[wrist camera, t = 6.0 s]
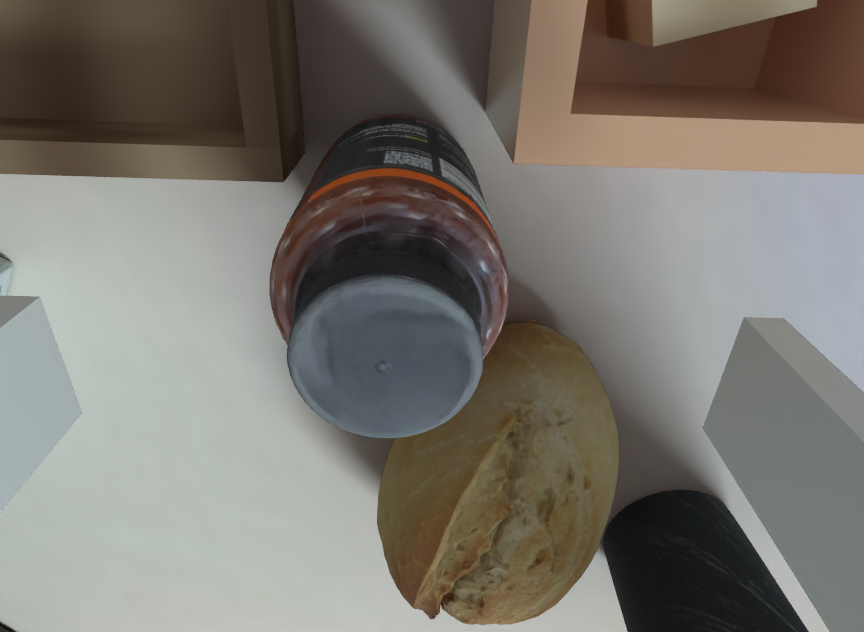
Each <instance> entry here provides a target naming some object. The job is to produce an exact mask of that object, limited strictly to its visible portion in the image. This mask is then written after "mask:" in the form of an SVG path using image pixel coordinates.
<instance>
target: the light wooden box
mask: <svg viewBox="0 0 864 632" xmlns="http://www.w3.org/2000/svg"><path fill="white" fill-rule="evenodd" d="M485 113H486V115H487V117H488V118H489V120H490V122H491V124H492V125H493V127H494V129H495V131H496V133H497V134H498V136H499V138H500V140H501V142H502V143H503V145H504V147H505V149H506V151H507V152H508V154H509V156H510V158H511V160H512V161H513V163H514V164H543V165H575V166H607V167H639V168H671V169H703V170H735V171H767V172H799V173H831V174H863V175H864V0H817V7H813V8H809V9H805V10H801V11H797V12H793V13H789V14H785V15H781V16H777V17H772V18H768V19H764V20H760V21H756V22H752V23H748V24H744V25H740V26H736V27H732V28H728V29H724V30H720V31H716V32H712V33H708V34H704V35H699V36H695V37H691V38H687V39H683V40H679V41H675V42H671V43H667V44H663V45H659V46H655V47H651V46H647V45H642V44H638V43H633V42H629V41H624V40H620V39H615V38H611V37H607V25H606V9H605V0H494V10H493V23H492V35H491V48H490V60H489V72H488V85H487V97H486V110H485Z"/></svg>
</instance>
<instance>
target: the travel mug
mask: <svg viewBox="0 0 864 632" xmlns="http://www.w3.org/2000/svg"><path fill="white" fill-rule="evenodd" d="M604 550H605V554H606V558H607V562H608V566H609V569H610V573H611V576H612V580H613V583H614V587H615V590H616V594H617V597H618V600H619V604H620V607H621V611H622V614H623V617H624V621H625V624H626V628H627V631H628V632H808V630H807V628H806V627H805V625H804V624H803V622H802V621H801V619H800V618H799V616H798V615H797V613H796V611H795V610H794V608H793V607H792V605H791V604H790V602H789V601H788V599H787V598H786V596H785V595H784V593H783V591H782V590H781V588H780V587H779V585H778V584H777V582H776V581H775V579H774V578H773V576H772V575H771V573H770V571H769V570H768V568H767V567H766V565H765V564H764V562H763V561H762V559H761V558H760V556H759V554H758V553H757V551H756V550H755V548H754V547H753V545H752V544H751V542H750V541H749V539H748V538H747V536H746V534H745V533H744V531H743V530H742V528H741V527H740V525H739V524H738V522H737V521H736V519H735V518H734V517H733V515H732V514H731V512H730V511H729V510H728V509H727V507H726V506H725V505H724V504H723V503H721V502H720V501H719V500H717V499H716V498H714V497H712V496H710V495H707V494H704V493H700V492H695V491H683V490H682V491H669V492H663V493H659V494H655V495H652V496H648V497H646V498H643V499H641V500H639V501H637V502H635V503H633V504H631V505H630V506H628V507H627V508H625V509H624V510H623V511H621V512H620V513H619V514H618V515H617V516H616V517H615V518H614V519H613V521H612V522H611V523H610V525H609V526H608V528H607V530H606V533H605V537H604Z"/></svg>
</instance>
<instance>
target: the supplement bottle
mask: <svg viewBox="0 0 864 632" xmlns="http://www.w3.org/2000/svg"><path fill="white" fill-rule="evenodd" d="M508 294H509V284H508V272H507V267H506V262H505V259H504V255H503V253H502V250H501V247H500V243H499V240H498V237H497V235H496V232H495V229H494V226H493V224H492V221H491V218H490V215H489V212H488V209H487V206H486V203H485V200H484V197H483V194H482V192H481V189H480V185H479V183H478V180H477V176H476V174H475V171H474V169H473V167H472V165H471V163H470V161H469V159H468V157H467V155H466V153H465V152H464V150H463V149H462V148H461V147H460V145H459V144H458V143H457V142H456V141H455V140H454V139H453V138H452V137H451V136H450V135H449V134H448V133H447V132H445V131H444V130H442V129H441V128H440V127H439V126H437V125H435V124H432V123H430V122H428V121H426V120H423V119H420V118H417V117H412V116H407V115H383V116H379V117H375V118H371V119H367V120H365V121H363V122H361V123H359V124H357V125H355V126H354V127H352V128H351V129H349V130H348V131H346V132H345V133H344V134H343V135H342V136H341V137H340V138H339V139H338V140H337V141H336V142H335V143H334V145H333V146H332V147H331V148H330V150H329V151H328V153H327V154H326V156H325V157H324V158H323V160H322V162H321V164H320V165H319V167H318V169H317V171H316V173H315V175H314V177H313V179H312V180H311V182H310V184H309V186H308V188H307V189H306V191H305V193H304V195H303V197H302V199H301V201H300V202H299V204H298V206H297V208H296V209H295V211H294V213H293V215H292V217H291V218H290V220H289V222H288V224H287V226H286V228H285V231H284V233H283V235H282V237H281V239H280V241H279V243H278V246H277V248H276V251H275V254H274V258H273V261H272V268H271V272H270V299H271V306H272V310H273V314H274V318H275V321H276V325H277V326H278V328H279V330H280V332H281V334H282V337H283V339H284V340H285V341H286V343H287V345H288V349H287V362H288V367H289V372H290V375H291V379H292V380H293V383H294V385H295V387H296V389H297V391H298V392H299V394H300V395H301V397H302V398H303V400H304V401H305V402H306V403H307V404H308V405H309V406H310V408H311V409H312V410H313V411H314V412H316V413H317V414H318V415H320V416H321V417H322V418H323V419H325V420H326V421H328V422H329V423H332V424H334V425H335V426H337V427H338V428H340V429H342V430H345V431H348V432H351V433H355V434H358V435H363V436H367V437H379V438H399V437H408V436H412V435H416V434H419V433H422V432H426V431H428V430H430V429H433V428H435V427H437V426H439V425H441V424H443V423H445V422H446V421H448V420H449V419H450V418H452V417H453V416H454V415H455V414H457V413H458V412H459V411H460V410H461V409H462V408H463V406H464V405H465V404H466V403H467V402H468V401H469V400H470V398H471V396H472V395H473V393H474V391H475V389H476V388H477V386H478V383H479V380H480V377H481V374H482V369H483V359H484V357H485V356H486V355H487V354H488V352H489V350H490V349H491V348H492V346H493V345H494V343H495V341H496V339H497V337H498V335H499V333H500V332H501V329H502V325H503V323H504V321H505V317H506V311H507V306H508V300H509V298H508Z"/></svg>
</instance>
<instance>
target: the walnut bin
mask: <svg viewBox="0 0 864 632" xmlns="http://www.w3.org/2000/svg"><path fill="white" fill-rule="evenodd" d="M304 154H305V148H304V135H303V122H302V109H301V96H300V83H299V70H298V57H297V45H296V32H295V19H294V6H293V0H0V174H28V175H62V176H96V177H129V178H163V179H197V180H230V181H264V182H284V181H285V180H286V178H287V177H288V176H289V174H290V173H291V171H292V170H293V169H294V167H295V166H296V165H297V163H298V162H299V160H300V159H301V158H302V156H303V155H304Z"/></svg>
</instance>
